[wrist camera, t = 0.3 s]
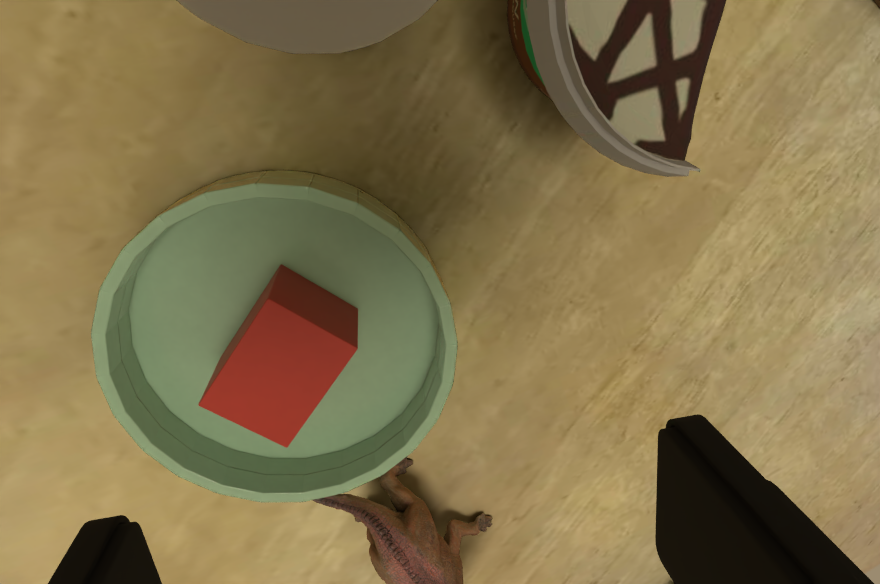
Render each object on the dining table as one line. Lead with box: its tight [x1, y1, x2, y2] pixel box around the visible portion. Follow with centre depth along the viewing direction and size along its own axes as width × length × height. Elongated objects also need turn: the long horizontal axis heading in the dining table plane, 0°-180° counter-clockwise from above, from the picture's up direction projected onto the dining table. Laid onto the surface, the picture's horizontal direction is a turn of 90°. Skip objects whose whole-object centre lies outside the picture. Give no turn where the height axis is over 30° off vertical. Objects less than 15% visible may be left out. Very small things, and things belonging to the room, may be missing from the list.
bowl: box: [91, 170, 458, 502], centre depth 29 cm, size 16×16×4 cm
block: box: [198, 264, 358, 448], centre depth 28 cm, size 6×4×4 cm
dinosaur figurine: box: [313, 457, 492, 584], centre depth 32 cm, size 14×6×9 cm, turn 40°
